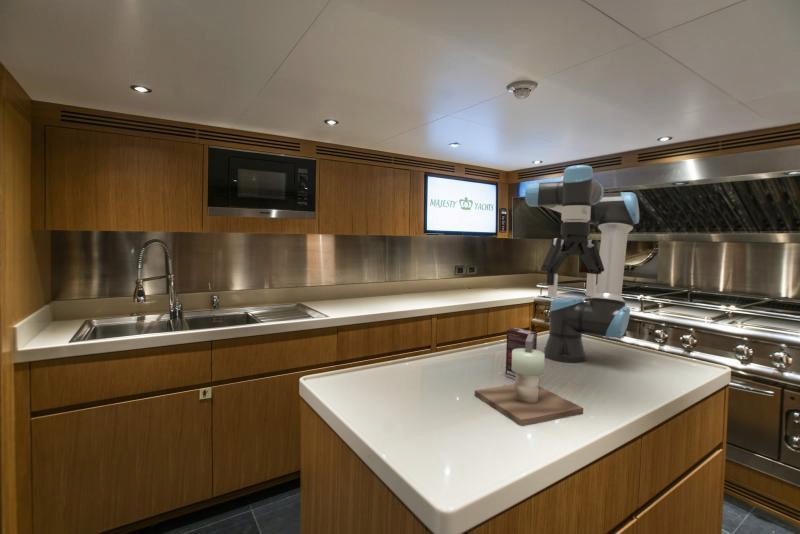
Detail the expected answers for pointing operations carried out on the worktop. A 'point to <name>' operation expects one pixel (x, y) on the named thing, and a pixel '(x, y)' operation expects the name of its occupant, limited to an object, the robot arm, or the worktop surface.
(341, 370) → the worktop surface
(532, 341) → the white cylinder
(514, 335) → the supplement box
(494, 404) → the wooden board with post
